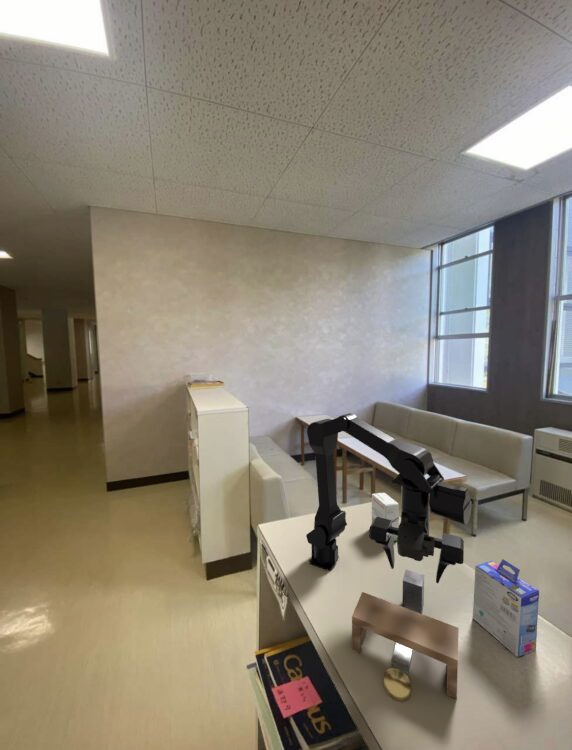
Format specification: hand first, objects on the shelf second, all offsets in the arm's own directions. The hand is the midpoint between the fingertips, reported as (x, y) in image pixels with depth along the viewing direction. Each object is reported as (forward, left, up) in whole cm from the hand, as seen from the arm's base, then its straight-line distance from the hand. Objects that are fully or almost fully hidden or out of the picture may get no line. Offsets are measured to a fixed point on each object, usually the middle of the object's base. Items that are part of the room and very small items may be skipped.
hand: (414, 574), depth 69 cm
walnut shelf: (0, -12, -9) cm, 15 cm away
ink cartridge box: (+17, +3, -9) cm, 19 cm away
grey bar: (0, -6, -9) cm, 10 cm away
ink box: (-12, +27, -9) cm, 31 cm away
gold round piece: (0, -18, -9) cm, 20 cm away
